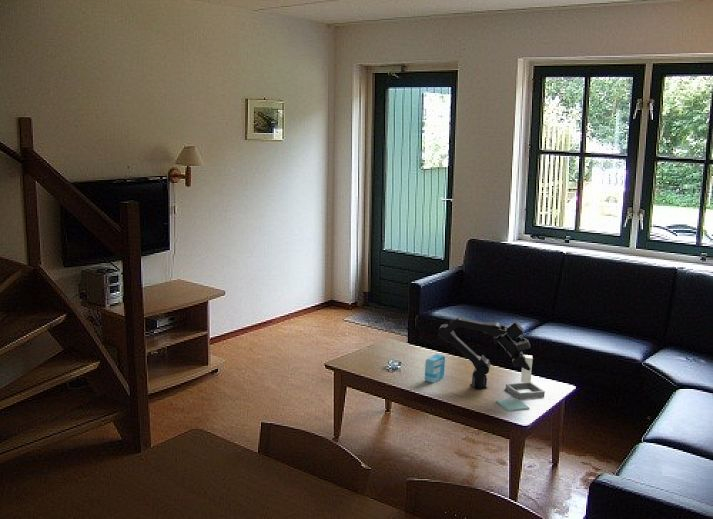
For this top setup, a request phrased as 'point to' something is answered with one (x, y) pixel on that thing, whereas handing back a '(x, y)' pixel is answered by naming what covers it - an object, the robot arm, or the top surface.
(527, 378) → the block
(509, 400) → the teal mat
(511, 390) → the gray square frame
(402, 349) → the top surface
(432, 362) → the light blue upright slab
